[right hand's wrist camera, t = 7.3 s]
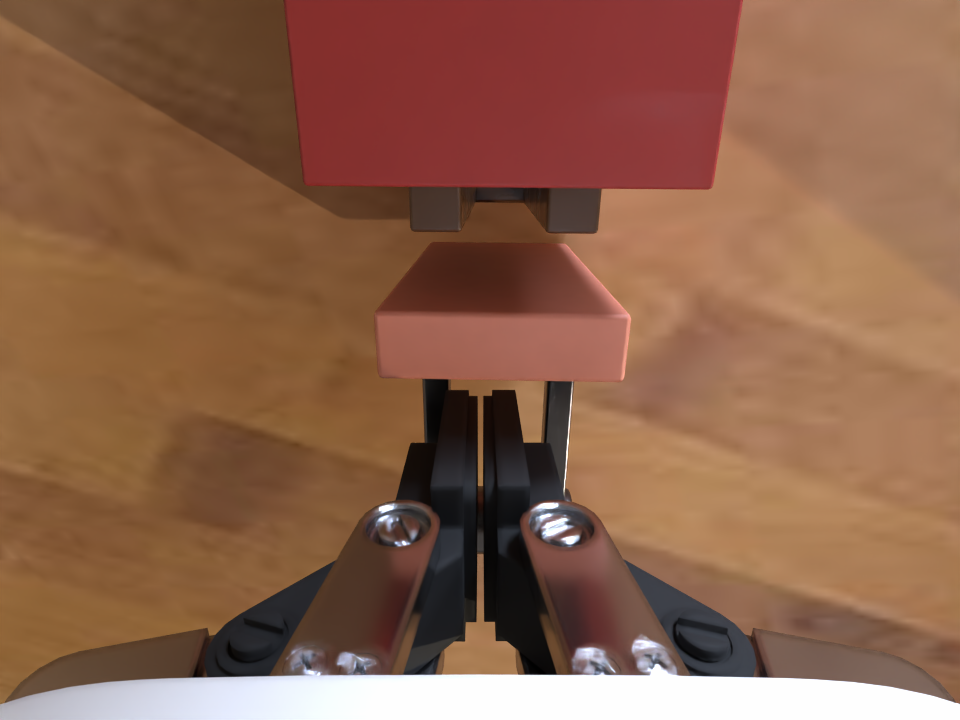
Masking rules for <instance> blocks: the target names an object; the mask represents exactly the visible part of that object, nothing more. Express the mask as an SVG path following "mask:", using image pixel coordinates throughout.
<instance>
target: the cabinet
mask: <svg viewBox="0 0 960 720" xmlns="http://www.w3.org/2000/svg"><path fill="white" fill-rule="evenodd" d="M742 3H743V0H284V9H285V18H286V27H287V36H288V45H289V55H290V64H291V73H292V82H293V91H294V100H295V110H296V119H297V128H298V137H299V146H300V155H301V165H302V174H303V182H304V184H305V185H307V186H384V187H491V188H598V189H704V190H708V189H711V188H712V186H713V182H714V176H715V170H716V164H717V157H718V151H719V145H720V139H721V133H722V127H723V120H724V114H725V108H726V102H727V96H728V89H729V83H730V77H731V71H732V65H733V58H734V52H735V46H736V40H737V34H738V28H739V21H740V15H741V9H742Z"/></svg>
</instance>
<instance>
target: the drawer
mask: <svg viewBox="0 0 960 720" xmlns="http://www.w3.org/2000/svg"><path fill="white" fill-rule="evenodd" d="M600 200H601V189H598V188H491V187H409V206H410V228H411V230H412V231H414V232H459V231H461V229H462V227H463V225H464V223H465V221H466V219H467V217H468V215H469V213H470V211H471V209H472V207H473V205H474V204H475V202H498V203H525V205H526V206H527V207H528V208H529V210H530V211H531V212H532V214H533V215H534V216H535V217H536V219H537V220H538V221H539V223H540V224H541V225H542V226H543V228H544V229H545V230H546V231H547V232H548V233H586V234H594V233H597V231H598V223H599V212H600ZM374 322H375V337H376V351H377V366H378V374H379V376H380V377H381V378H412V379H422V380H423V408H424V437H425V443H437V442H438V436H439V430H440V424H441V417H442V411H443V405H444V399H445V393H446V390H451V379H470V380H527V381H545V385H544V402H543V419H542V437H541V443H550V444H551V447H552V451H553V455H554V459H555V463H556V467H557V470H558V474H559V478H560V482H561V486H562V490H563V494H564V498H565V501H570V502H572V499H571V495H570V492H569V490H568V489H566V488H565V487H566V474H567V462H568V449H569V437H570V424H571V412H572V399H573V387H574V381H584V382H621V381H622V380H623V378H624V374H625V365H626V357H627V348H628V340H629V332H630V323H631V318H630V315H629V314H628V313H627V312H626V310H625V309H624V308H623V307H622V306H621V305H620V304H619V303H618V302H617V300H616V299H615V298H614V297H613V296H612V295H611V294H610V293H609V292H608V290H607V289H606V288H605V287H604V286H603V285H602V284H601V283H600V282H599V280H598V279H597V278H596V277H595V276H594V275H593V274H592V273H591V272H590V270H589V269H588V268H587V267H586V266H585V265H584V264H583V263H582V262H581V260H580V259H579V258H578V257H577V256H576V255H575V254H574V253H573V252H572V250H571V249H570V248H569V247H568V246H567V245H566V244H547V243H462V242H432V243H430V245H429V246H428V247H427V248H426V250H425V251H424V252H423V253H422V255H421V256H420V257H419V258H418V259H417V261H416V262H415V263H414V264H413V266H412V267H411V268H410V269H409V271H408V272H407V273H406V274H405V276H404V277H403V278H402V279H401V280H400V282H399V283H398V284H397V285H396V287H395V288H394V289H393V290H392V292H391V293H390V294H389V295H388V297H387V298H386V299H385V300H384V301H383V303H382V304H381V305H380V306H379V308H378V309H377V310H376V311H375V314H374ZM477 554H484V536H483V486H478V525H477Z"/></svg>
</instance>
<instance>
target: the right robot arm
mask: <svg viewBox="0 0 960 720" xmlns="http://www.w3.org/2000/svg"><path fill="white" fill-rule="evenodd" d="M477 525H478V396H469V390H446V393H445V399H444V405H443V411H442V417H441V424H440V430H439V436H438V442H437V443H411V444H410V447H409V451H408V455H407V459H406V462H405V466H404V470H403V474H402V478H401V482H400V485H399V489H398V493H397V497H396V501H390V502H386V503H383V504H381V505H378V506H376V507H374V508H372V509H371V510H369V511H368V512H366V513H365V514H364V516H363V517H362V518H361V519H360V520H359V522H358V524H357V525H356V527H355V529H354V530H353V532H352V534H351V536H350V537H349V539H348V541H347V542H346V544H345V546H344V548H343V549H342V551H341V553H340V555H339V556H338V558H337V560H335V561H334V562H332V563H330V564H328V565H326V566H325V567H323V568H321V569H319V570H318V571H316V572H314V573H312V574H310V575H309V576H307V577H305V578H303V579H302V580H300V581H298V582H296V583H294V584H293V585H291V586H289V587H287V588H286V589H284V590H282V591H280V592H278V593H277V594H275V595H273V596H271V597H270V598H268V599H266V600H264V601H262V602H261V603H259V604H257V605H255V606H254V607H252V608H250V609H248V610H246V611H245V612H243V613H241V614H239V615H238V616H237V617H235V618H234V619H232V620H231V621H229V622H228V623H227V624H225V625H224V626H223V628H222V629H221V630H220V631H219V632H218V633H217V634H216V635H212V636H209V632H208V628H204V629H199V630H193V631H188V632H182V633H177V634H171V635H166V636H160V637H155V638H150V639H144V640H139V641H133V642H128V643H122V644H117V645H111V646H106V647H101V648H95V649H90V650H84V651H79V652H76V653H72V654H69V655H66V656H63V657H59V658H58V659H56V660H54V661H52V662H50V663H48V664H46V665H44V666H42V667H41V668H39V669H38V670H36V671H35V672H34V673H32V674H31V675H30V676H29V677H27V678H26V679H25V680H23V681H22V682H21V683H20V684H19V685H18V686H17V688H16V689H15V690H14V691H13V692H12V693H11V695H10V696H9V697H8V698H7V699H6V701H5V703H3V704H0V720H960V704H957V703H956V702H955V700H954V699H953V697H952V696H951V695H950V694H949V693H948V692H947V690H946V689H945V688H944V687H943V686H942V685H941V683H940V682H938V681H937V680H936V679H935V678H933V677H932V676H931V675H929V674H928V673H927V672H926V671H924V670H923V669H922V668H920V667H918V666H916V665H914V664H912V663H910V662H909V661H907V660H905V659H903V658H901V657H898V656H894V655H891V654H888V653H885V652H881V651H876V650H870V649H865V648H859V647H854V646H849V645H843V644H838V643H832V642H827V641H822V640H816V639H811V638H805V637H800V636H794V635H789V634H784V633H778V632H773V631H767V630H762V629H757V628H753V631H752V635H751V636H749V635H745V634H744V633H743V632H742V631H741V630H740V629H739V628H738V627H737V626H736V625H735V624H734V623H733V622H731V621H730V620H728V619H727V618H725V617H724V616H723V615H721V614H720V613H718V612H716V611H714V610H712V609H711V608H709V607H707V606H705V605H704V604H702V603H700V602H698V601H696V600H695V599H693V598H691V597H689V596H688V595H686V594H684V593H682V592H681V591H679V590H677V589H675V588H673V587H672V586H670V585H668V584H666V583H665V582H663V581H661V580H659V579H658V578H656V577H654V576H652V575H650V574H649V573H647V572H645V571H643V570H642V569H640V568H638V567H636V566H634V565H633V564H631V563H629V562H627V561H626V560H624V559H623V558H622V556H621V555H620V553H619V551H618V549H617V548H616V546H615V544H614V542H613V541H612V539H611V537H610V536H609V534H608V532H607V530H606V529H605V527H604V525H603V524H602V522H601V520H600V519H599V518H598V517H597V516H596V514H595V513H594V512H592V511H591V510H589V509H588V508H586V507H584V506H582V505H579V504H577V503H574V502H570V501H565V498H564V494H563V490H562V486H561V482H560V478H559V474H558V470H557V467H556V463H555V459H554V455H553V451H552V447H551V444H550V443H523V436H522V430H521V424H520V418H519V411H518V405H517V399H516V393H515V390H492V396H483V536H484V622H495V632H496V641H507V642H509V643H510V644H511V645H512V646H513V647H515V648H516V668H517V672H518V675H442V672H443V668H444V649H445V648H447V647H448V646H449V645H450V644H451V643H453V642H454V641H465V625H466V622H476V617H477Z"/></svg>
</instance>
